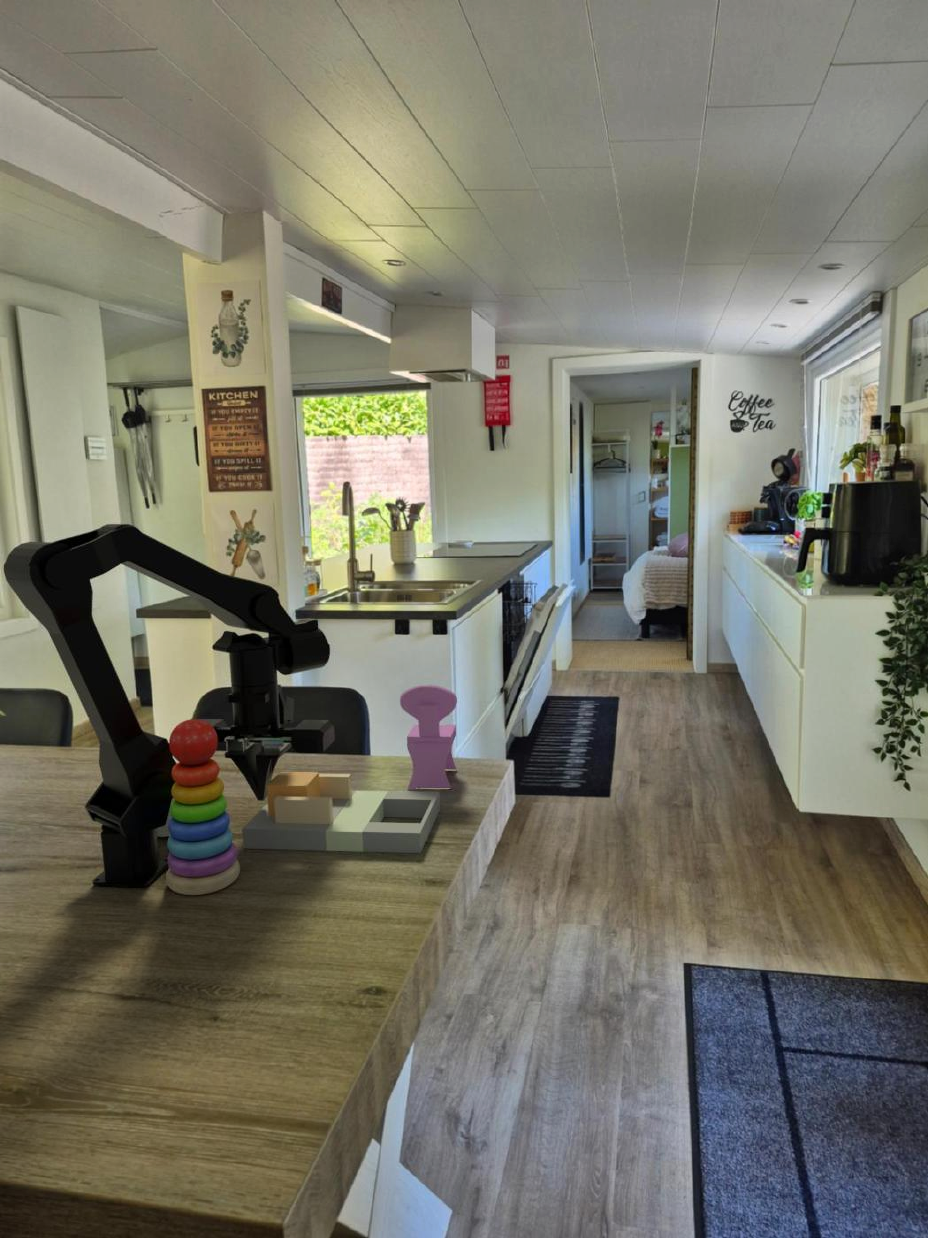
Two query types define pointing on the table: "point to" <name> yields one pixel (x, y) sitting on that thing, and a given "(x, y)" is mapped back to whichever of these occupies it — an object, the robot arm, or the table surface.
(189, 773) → the stacking toy
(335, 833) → the tunnel board
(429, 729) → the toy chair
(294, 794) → the block
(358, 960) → the table surface
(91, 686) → the robot arm
